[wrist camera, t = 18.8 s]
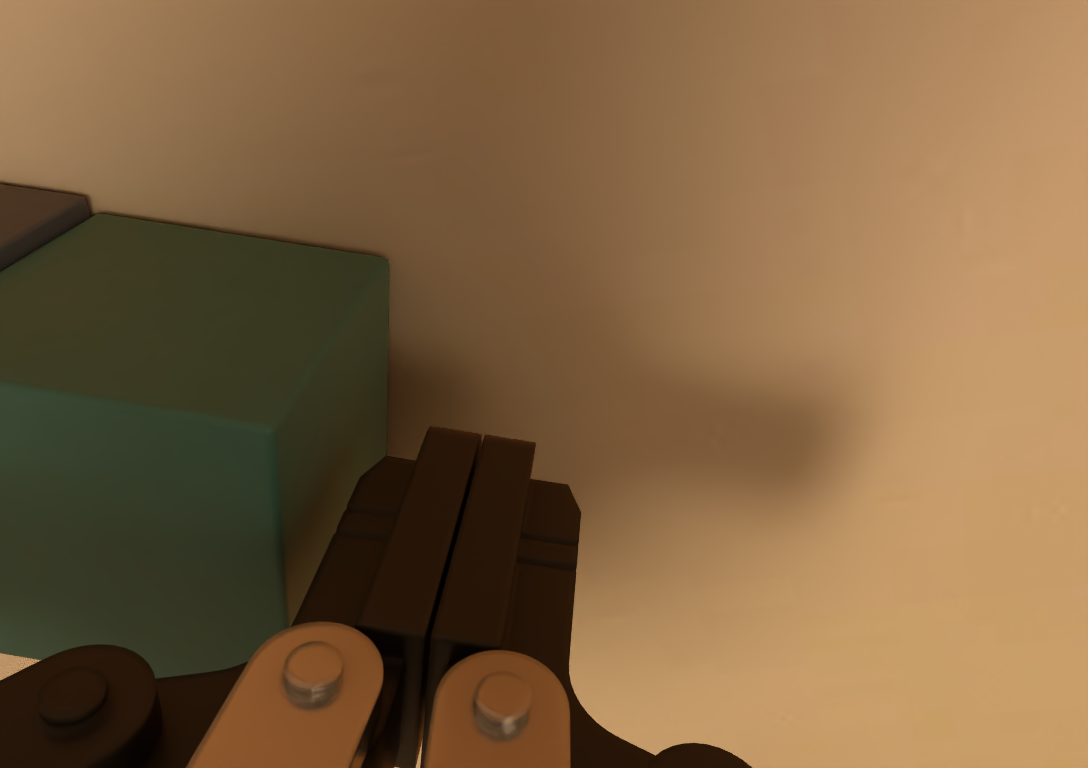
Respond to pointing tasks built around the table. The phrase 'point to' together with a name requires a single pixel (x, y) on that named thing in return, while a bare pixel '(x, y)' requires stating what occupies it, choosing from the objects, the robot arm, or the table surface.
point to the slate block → (35, 219)
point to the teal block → (179, 435)
